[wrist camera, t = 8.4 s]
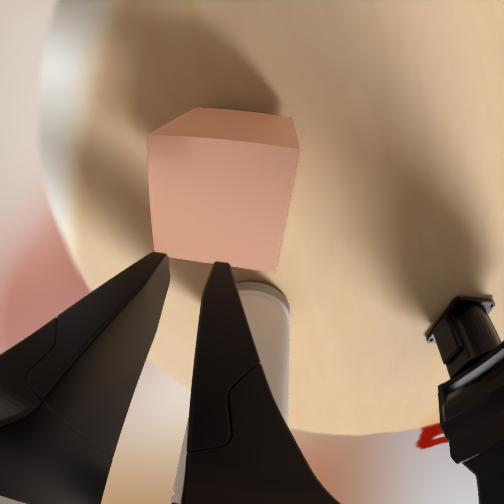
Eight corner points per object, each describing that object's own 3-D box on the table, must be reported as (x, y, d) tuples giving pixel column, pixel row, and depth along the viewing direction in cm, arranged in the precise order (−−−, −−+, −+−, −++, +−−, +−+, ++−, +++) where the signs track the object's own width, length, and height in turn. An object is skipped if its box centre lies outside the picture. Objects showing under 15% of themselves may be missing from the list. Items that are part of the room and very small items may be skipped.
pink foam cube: (291, 117, 14) (299, 149, 9) (278, 201, 17) (275, 272, 12) (196, 107, 14) (146, 134, 9) (193, 190, 17) (154, 255, 12)
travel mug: (207, 278, 23) (138, 547, 7) (291, 280, 22) (280, 571, 6) (217, 328, 26) (174, 542, 10) (287, 331, 26) (276, 555, 10)
